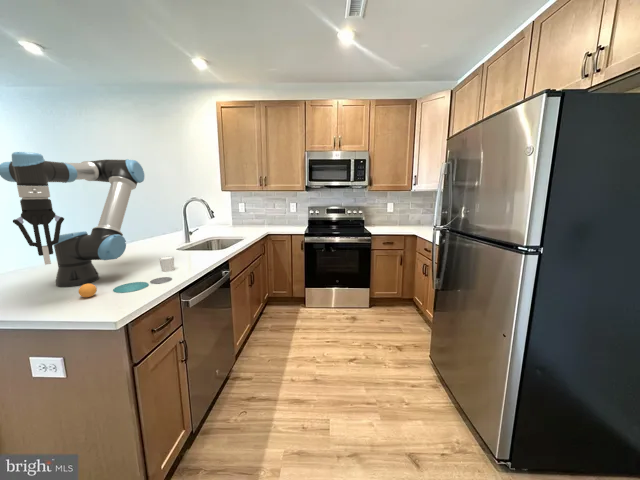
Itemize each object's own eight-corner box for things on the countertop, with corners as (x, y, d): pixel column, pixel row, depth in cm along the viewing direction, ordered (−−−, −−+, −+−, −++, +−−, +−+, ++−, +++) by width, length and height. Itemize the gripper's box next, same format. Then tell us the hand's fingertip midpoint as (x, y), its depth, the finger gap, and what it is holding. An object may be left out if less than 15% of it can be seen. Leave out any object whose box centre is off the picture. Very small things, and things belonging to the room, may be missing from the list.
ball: (76, 299, 105) (73, 285, 104) (90, 293, 110) (88, 281, 109) (87, 300, 104) (84, 286, 103) (101, 294, 109) (99, 282, 108)
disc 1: (105, 291, 113) (104, 291, 113) (131, 281, 126) (131, 281, 125) (130, 293, 110) (130, 293, 110) (155, 283, 123) (155, 282, 123)
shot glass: (164, 268, 146) (163, 256, 145) (177, 268, 147) (176, 256, 146) (158, 272, 140) (156, 259, 138) (171, 272, 140) (170, 259, 139)
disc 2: (145, 283, 123) (145, 282, 123) (160, 277, 132) (160, 276, 132) (162, 284, 122) (161, 284, 122) (176, 278, 130) (176, 277, 130)
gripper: (6, 199, 86) (21, 269, 90) (62, 198, 95) (73, 261, 100) (7, 198, 91) (21, 265, 95) (60, 198, 100) (70, 258, 105)
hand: (47, 263), depth 97 cm, fingers closed
